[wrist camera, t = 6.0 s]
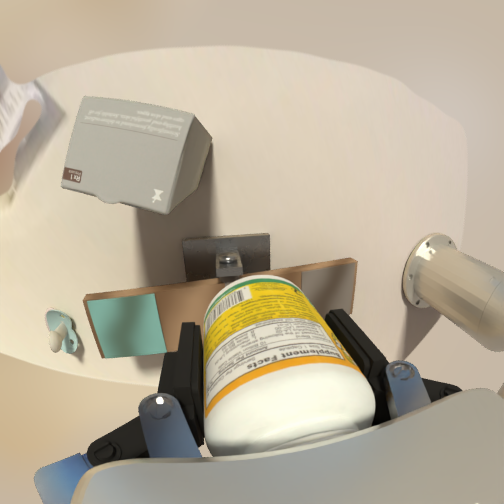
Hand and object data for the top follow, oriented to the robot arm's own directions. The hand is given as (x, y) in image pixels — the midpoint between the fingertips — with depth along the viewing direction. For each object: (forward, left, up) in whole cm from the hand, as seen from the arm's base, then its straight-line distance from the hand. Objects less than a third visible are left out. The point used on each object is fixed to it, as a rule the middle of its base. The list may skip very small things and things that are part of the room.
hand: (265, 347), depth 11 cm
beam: (+1, +7, -16) cm, 17 cm away
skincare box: (+7, -9, -22) cm, 25 cm away
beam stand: (+1, +7, -22) cm, 23 cm away
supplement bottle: (0, 0, -2) cm, 2 cm away
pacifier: (+27, +12, -22) cm, 37 cm away
